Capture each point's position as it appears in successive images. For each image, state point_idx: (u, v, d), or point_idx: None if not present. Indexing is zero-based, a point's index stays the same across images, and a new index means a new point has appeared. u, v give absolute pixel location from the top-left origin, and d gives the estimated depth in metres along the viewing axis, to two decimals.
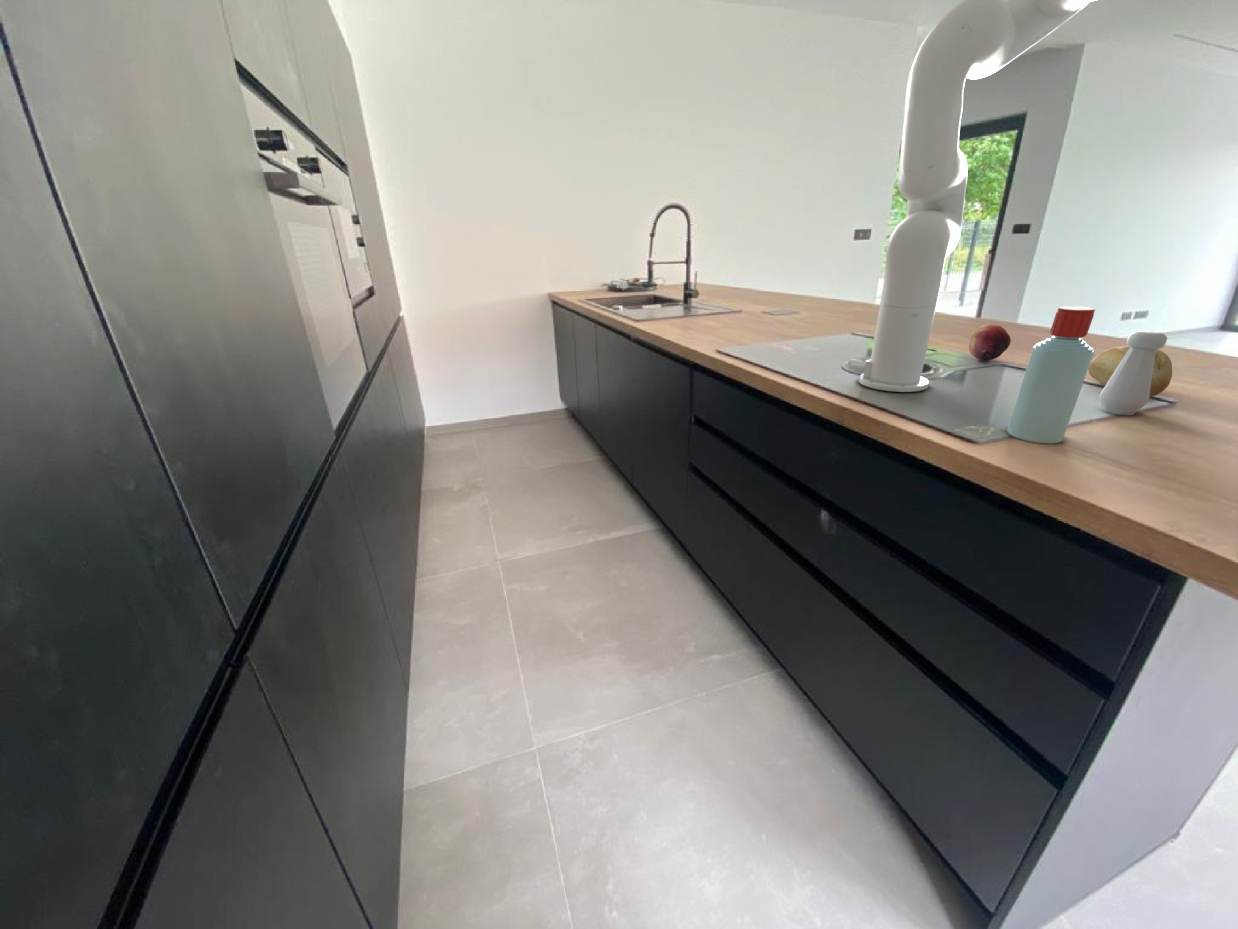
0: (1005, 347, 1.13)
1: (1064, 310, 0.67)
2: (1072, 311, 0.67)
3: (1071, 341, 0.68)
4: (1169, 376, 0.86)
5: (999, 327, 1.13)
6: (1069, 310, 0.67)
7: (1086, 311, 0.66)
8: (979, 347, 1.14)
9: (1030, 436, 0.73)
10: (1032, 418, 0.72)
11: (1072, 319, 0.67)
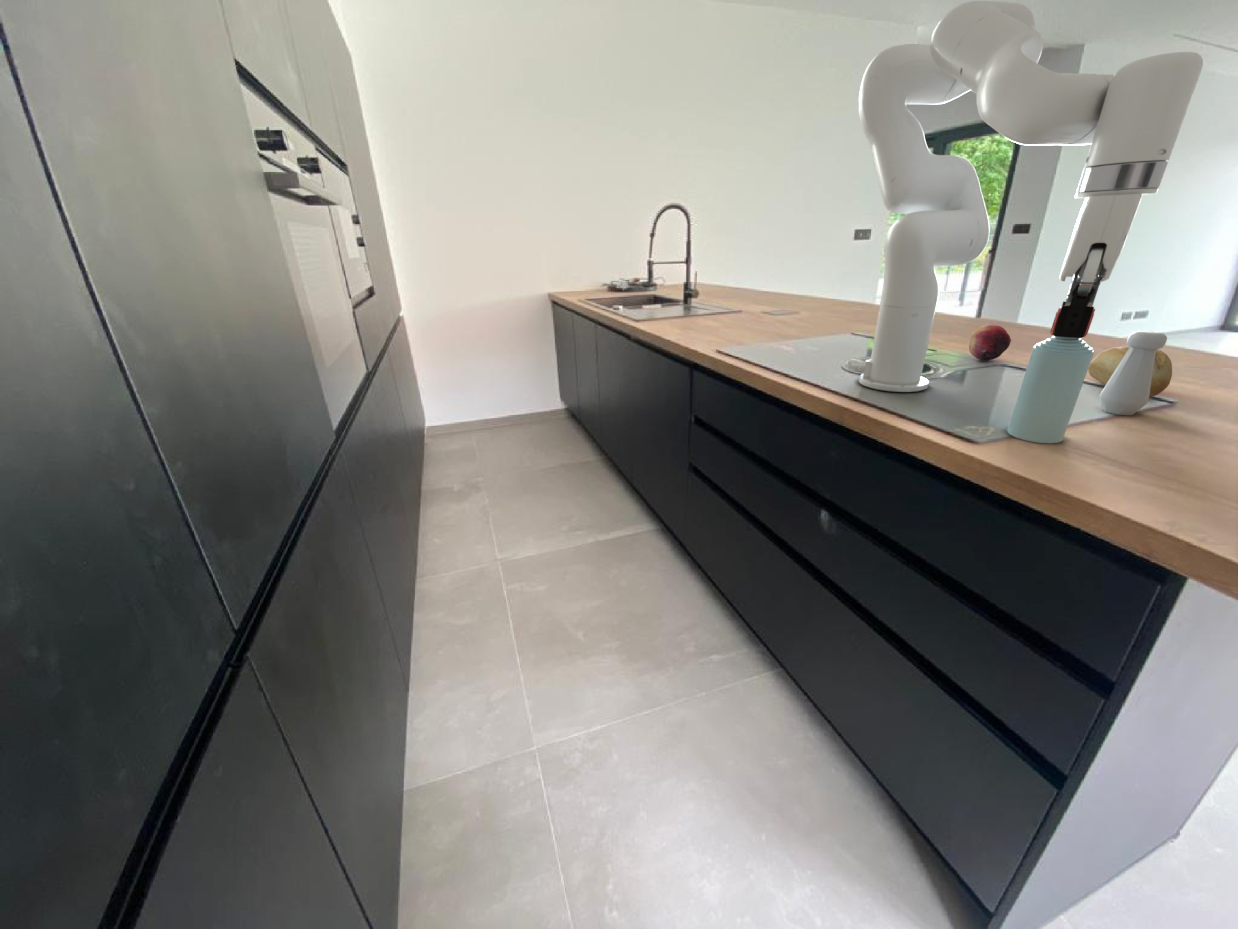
0: (1005, 347, 1.13)
1: None
2: None
3: (1071, 341, 0.68)
4: (1169, 376, 0.86)
5: (999, 327, 1.13)
6: None
7: None
8: (979, 347, 1.14)
9: (1030, 436, 0.73)
10: (1032, 418, 0.72)
11: None
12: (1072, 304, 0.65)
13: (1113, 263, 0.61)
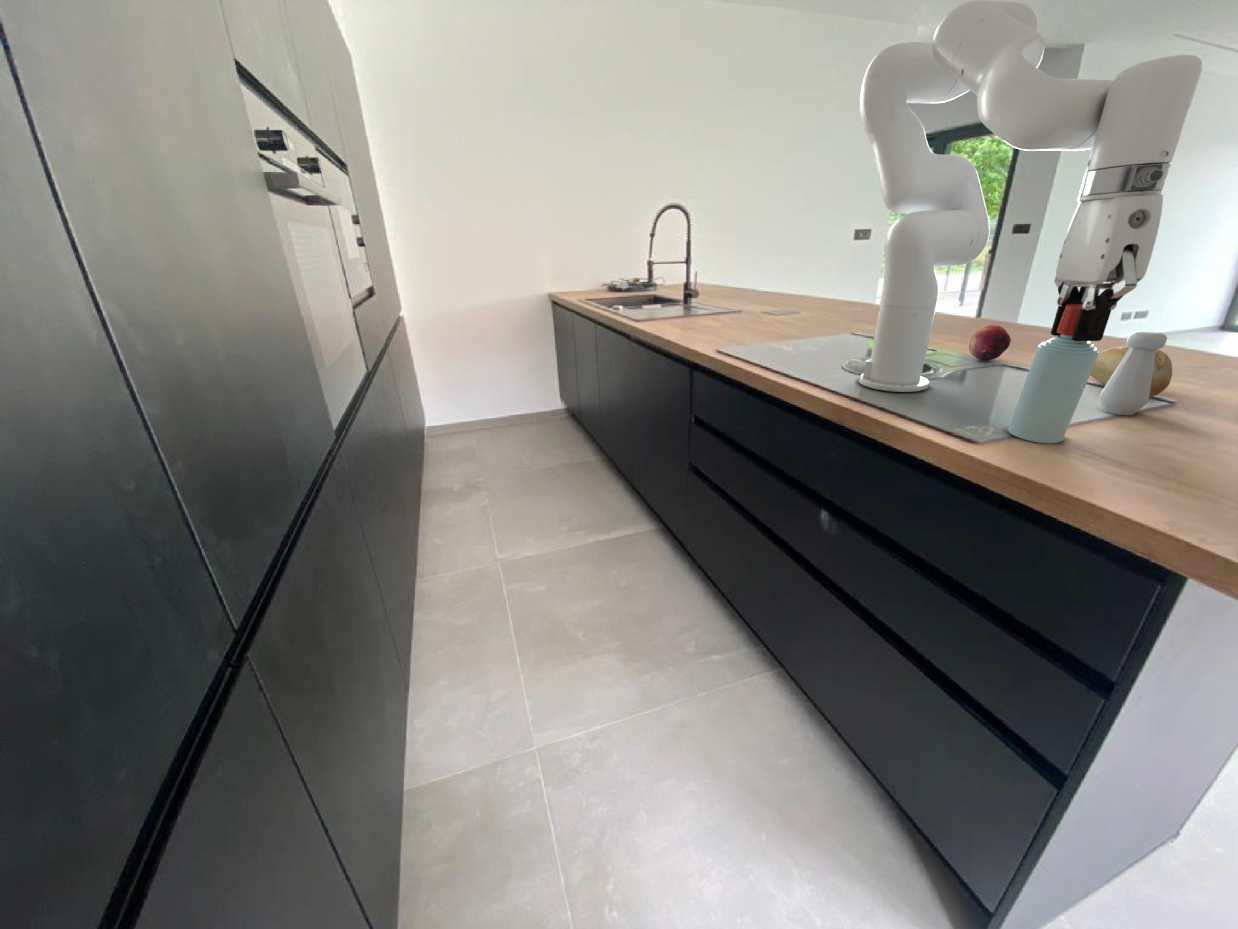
0: (1005, 347, 1.13)
1: None
2: None
3: (1077, 341, 0.67)
4: (1169, 376, 0.86)
5: (999, 327, 1.13)
6: None
7: None
8: (979, 347, 1.14)
9: (1030, 436, 0.73)
10: (1033, 418, 0.72)
11: None
12: None
13: (1058, 263, 0.69)
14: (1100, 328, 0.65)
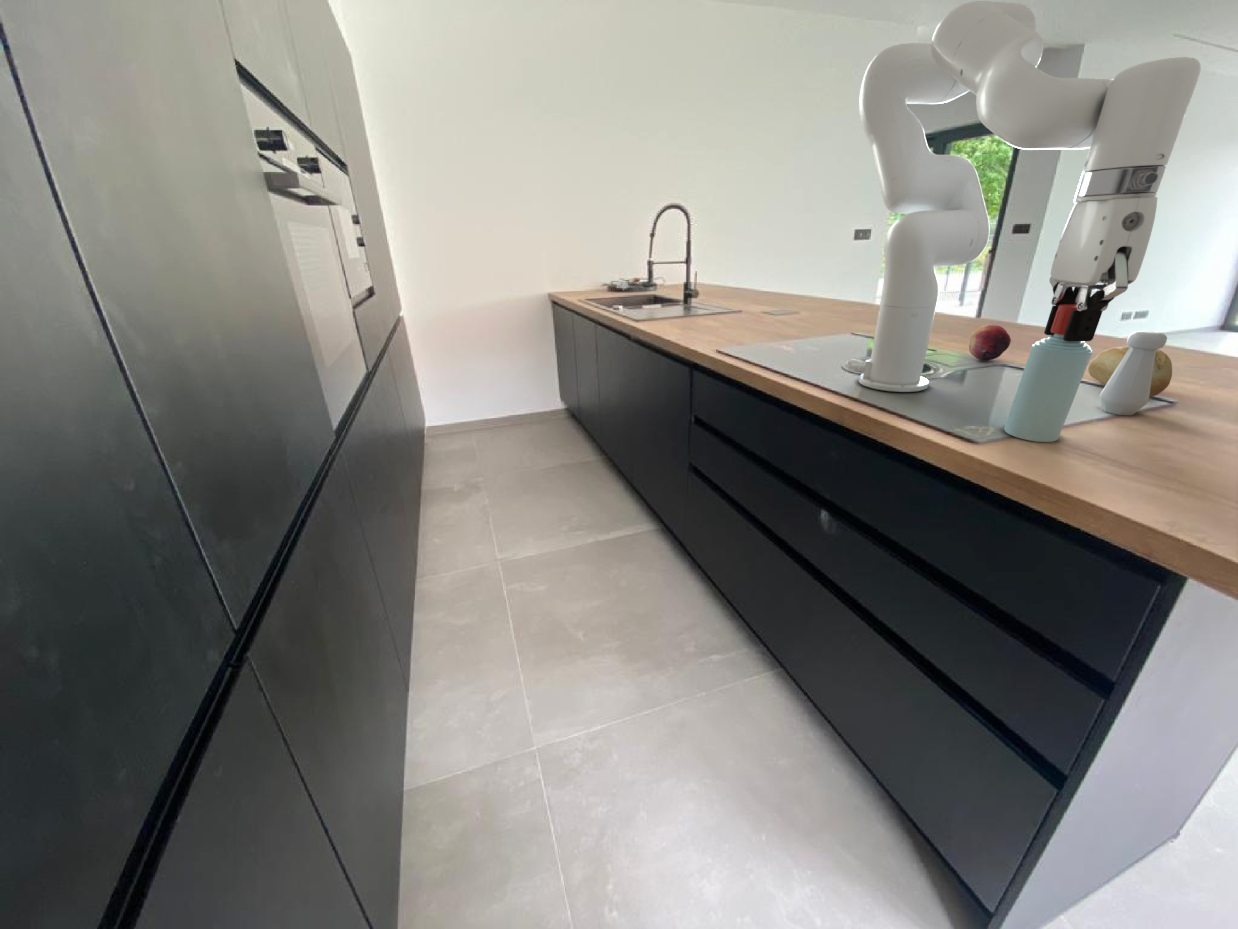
0: (1005, 347, 1.13)
1: None
2: None
3: (1070, 341, 0.68)
4: (1169, 376, 0.86)
5: (999, 327, 1.13)
6: (1074, 305, 0.69)
7: None
8: (979, 347, 1.14)
9: (1026, 434, 0.73)
10: (1028, 417, 0.73)
11: None
12: None
13: (1053, 262, 0.70)
14: (1091, 329, 0.66)
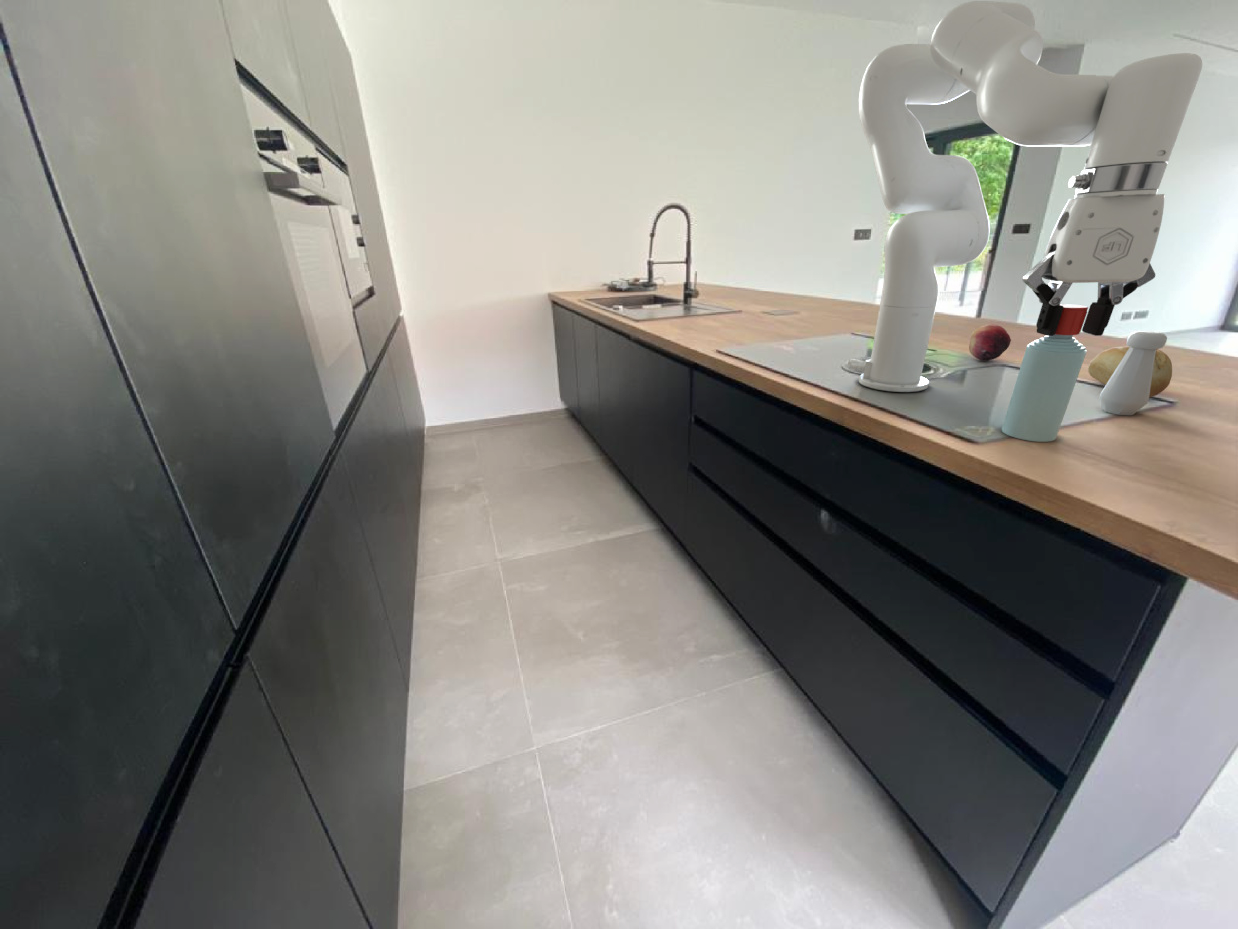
0: (1005, 347, 1.13)
1: (1073, 305, 0.69)
2: None
3: (1064, 340, 0.69)
4: (1169, 376, 0.86)
5: (999, 327, 1.13)
6: (1067, 305, 0.70)
7: None
8: (979, 347, 1.14)
9: (1024, 434, 0.74)
10: (1026, 417, 0.73)
11: None
12: None
13: None
14: (1043, 322, 0.68)
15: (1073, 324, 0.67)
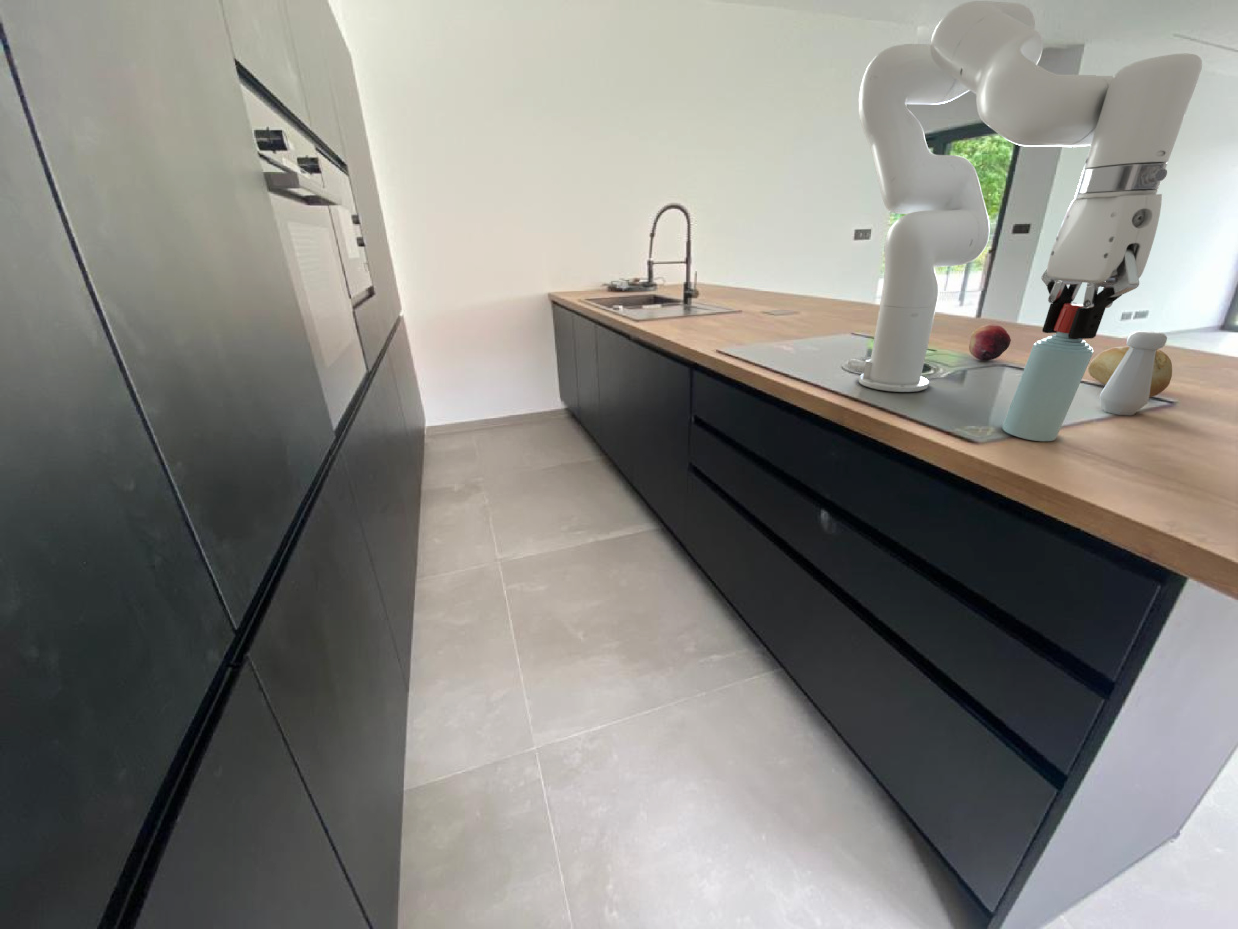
0: (1005, 347, 1.13)
1: (1082, 307, 0.66)
2: None
3: (1072, 340, 0.68)
4: (1169, 376, 0.86)
5: (999, 327, 1.13)
6: None
7: None
8: (979, 347, 1.14)
9: (1025, 433, 0.74)
10: (1028, 416, 0.73)
11: None
12: None
13: None
14: (1096, 326, 0.66)
15: None
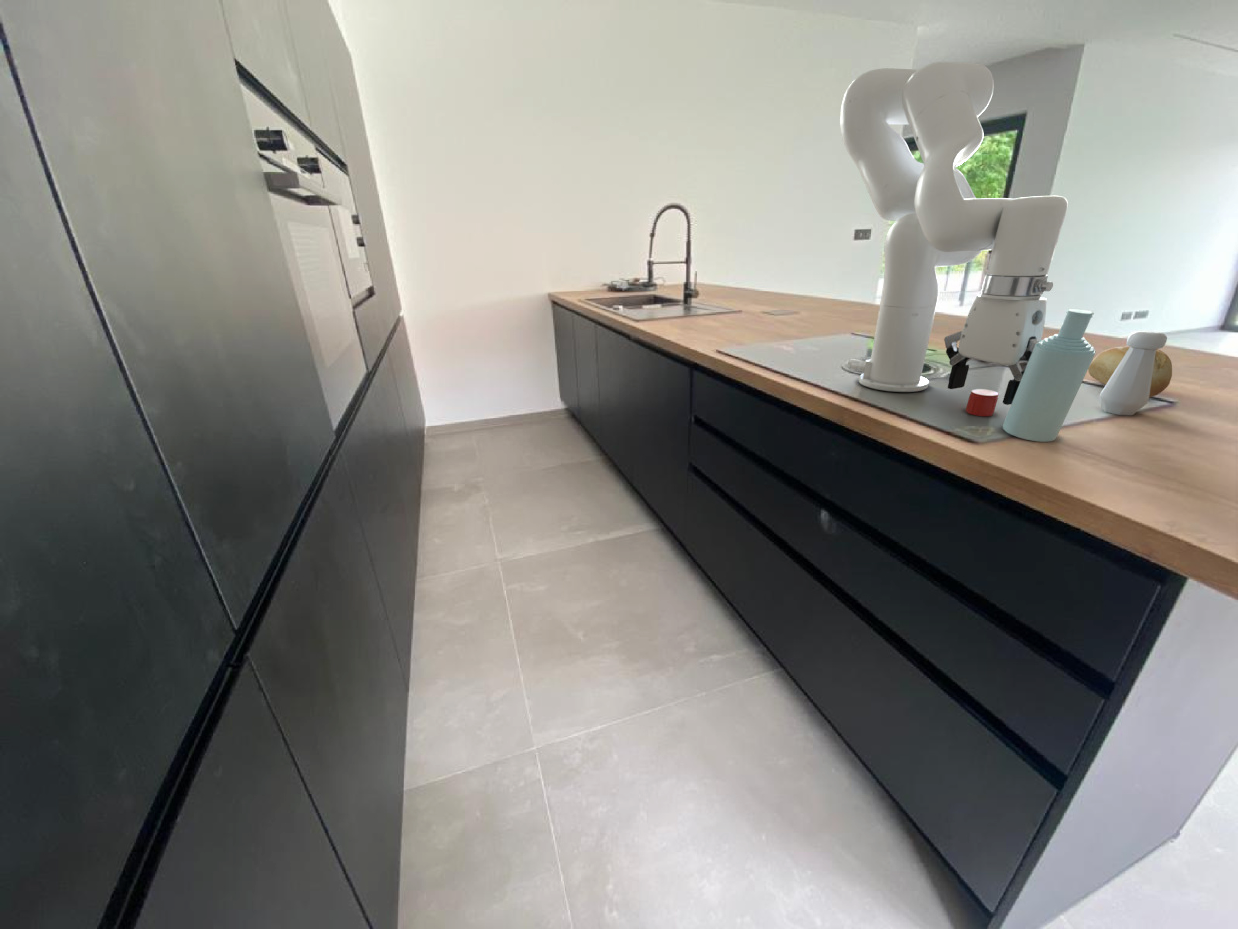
0: None
1: (988, 396, 0.82)
2: (993, 396, 0.82)
3: (1074, 341, 0.67)
4: (1169, 376, 0.86)
5: None
6: (992, 396, 0.82)
7: (998, 394, 0.83)
8: None
9: (1025, 434, 0.74)
10: (1028, 416, 0.73)
11: (993, 402, 0.82)
12: None
13: None
14: None
15: None
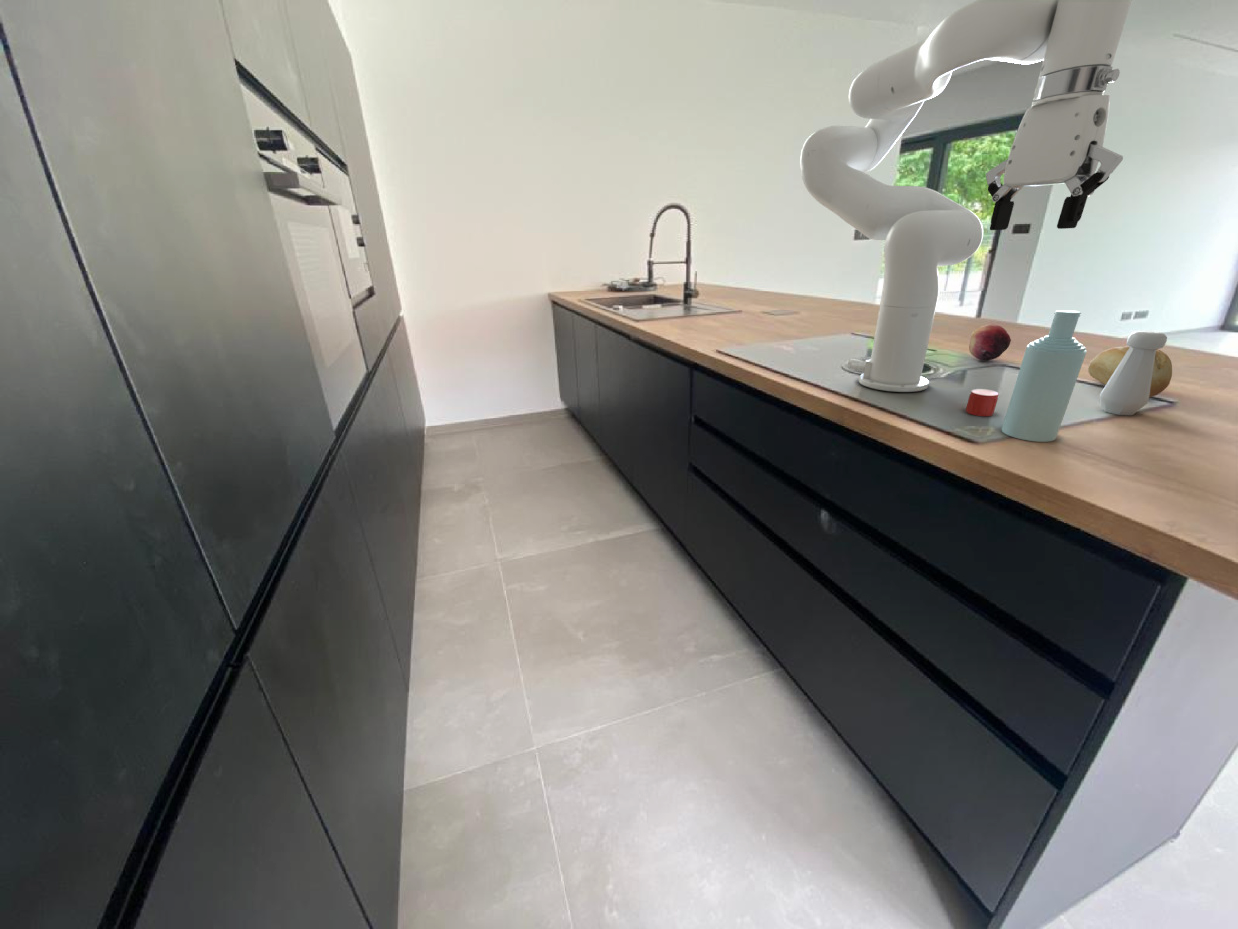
0: (1005, 347, 1.13)
1: (988, 396, 0.82)
2: (993, 396, 0.82)
3: (1064, 340, 0.69)
4: (1169, 376, 0.86)
5: (999, 327, 1.13)
6: (992, 396, 0.82)
7: (998, 394, 0.83)
8: (979, 347, 1.14)
9: (1024, 435, 0.74)
10: (1025, 417, 0.73)
11: (993, 402, 0.82)
12: None
13: (1005, 170, 0.75)
14: (1081, 214, 0.70)
15: None
